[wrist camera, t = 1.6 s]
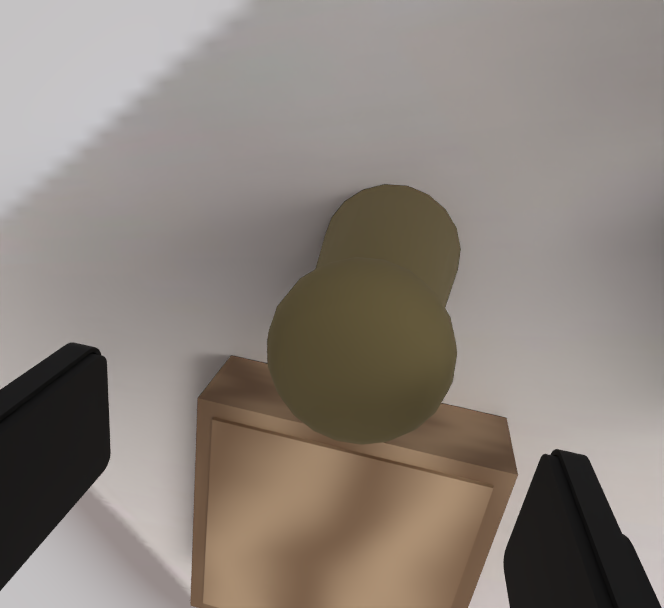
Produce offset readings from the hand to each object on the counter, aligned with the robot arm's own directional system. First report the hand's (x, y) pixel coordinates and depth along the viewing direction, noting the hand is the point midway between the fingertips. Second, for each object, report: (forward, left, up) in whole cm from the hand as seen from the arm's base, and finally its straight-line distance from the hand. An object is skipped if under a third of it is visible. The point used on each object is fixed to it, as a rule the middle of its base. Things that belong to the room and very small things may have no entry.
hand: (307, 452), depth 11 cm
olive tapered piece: (0, 0, -14) cm, 14 cm away
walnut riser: (0, +14, -13) cm, 19 cm away
